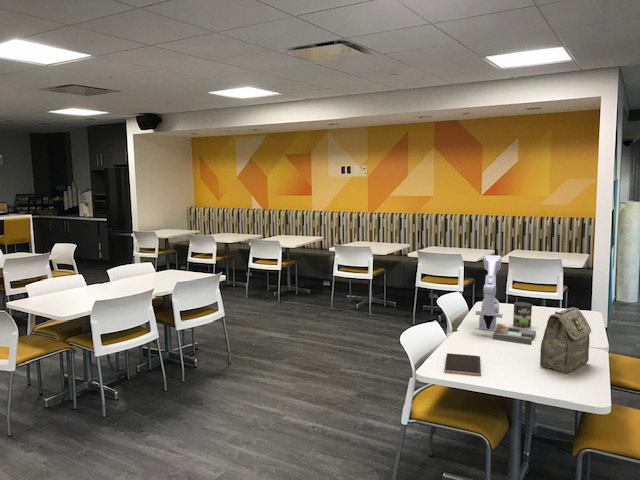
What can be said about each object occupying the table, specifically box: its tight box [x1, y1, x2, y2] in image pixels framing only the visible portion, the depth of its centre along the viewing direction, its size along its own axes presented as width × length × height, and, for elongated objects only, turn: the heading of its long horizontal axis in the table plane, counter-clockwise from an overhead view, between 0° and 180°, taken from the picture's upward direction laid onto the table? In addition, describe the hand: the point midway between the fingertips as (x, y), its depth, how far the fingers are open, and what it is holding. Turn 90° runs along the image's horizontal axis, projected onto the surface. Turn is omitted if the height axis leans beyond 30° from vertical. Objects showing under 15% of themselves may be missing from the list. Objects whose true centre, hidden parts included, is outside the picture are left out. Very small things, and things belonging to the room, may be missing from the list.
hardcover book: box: [444, 352, 482, 377], centre depth 252 cm, size 16×23×2 cm
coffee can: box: [512, 301, 533, 330], centre depth 317 cm, size 10×10×14 cm
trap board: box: [492, 326, 537, 346], centre depth 296 cm, size 20×18×3 cm
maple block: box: [495, 323, 506, 333], centre depth 296 cm, size 4×4×4 cm
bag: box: [539, 306, 592, 375], centre depth 251 cm, size 22×16×27 cm
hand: (488, 328), depth 300 cm, fingers closed
